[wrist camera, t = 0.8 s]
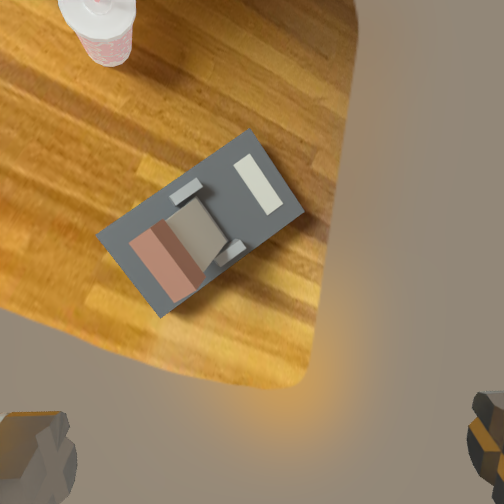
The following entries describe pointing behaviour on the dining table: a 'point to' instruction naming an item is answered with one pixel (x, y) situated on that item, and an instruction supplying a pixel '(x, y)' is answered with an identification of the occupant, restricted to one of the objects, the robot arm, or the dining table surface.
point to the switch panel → (210, 212)
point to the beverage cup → (102, 27)
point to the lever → (180, 249)
